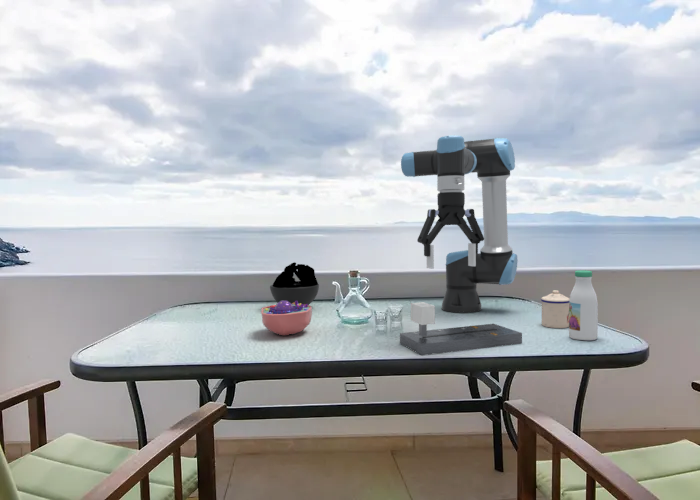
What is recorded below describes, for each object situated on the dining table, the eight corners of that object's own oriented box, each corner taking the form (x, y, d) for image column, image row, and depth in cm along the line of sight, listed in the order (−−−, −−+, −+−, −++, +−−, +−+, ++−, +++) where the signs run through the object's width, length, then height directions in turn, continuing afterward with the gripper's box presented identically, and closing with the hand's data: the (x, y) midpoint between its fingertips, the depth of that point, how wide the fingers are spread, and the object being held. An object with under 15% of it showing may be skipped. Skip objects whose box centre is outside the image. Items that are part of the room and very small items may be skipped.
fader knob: (411, 333, 146) (410, 303, 145) (423, 332, 147) (423, 302, 147) (422, 338, 139) (421, 307, 139) (435, 337, 141) (434, 305, 140)
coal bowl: (308, 314, 197) (307, 266, 195) (262, 312, 203) (260, 265, 202) (326, 305, 216) (325, 261, 214) (283, 304, 222) (282, 261, 220)
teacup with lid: (574, 328, 162) (574, 292, 162) (545, 328, 163) (545, 292, 163) (563, 321, 174) (563, 287, 174) (535, 321, 175) (535, 287, 175)
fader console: (399, 343, 149) (399, 332, 149) (493, 333, 159) (493, 323, 159) (421, 355, 136) (421, 343, 135) (522, 343, 146) (522, 332, 146)
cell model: (320, 327, 174) (319, 294, 173) (303, 341, 154) (302, 304, 153) (273, 326, 177) (272, 294, 176) (250, 340, 158) (249, 303, 157)
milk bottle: (595, 335, 153) (596, 269, 151) (599, 341, 145) (599, 272, 144) (567, 334, 155) (568, 269, 154) (569, 340, 148) (570, 272, 147)
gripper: (417, 190, 135) (418, 270, 136) (496, 191, 144) (496, 266, 145) (405, 192, 142) (405, 268, 143) (480, 192, 151) (481, 264, 152)
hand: (451, 267), depth 144 cm, fingers open, 13 cm apart
